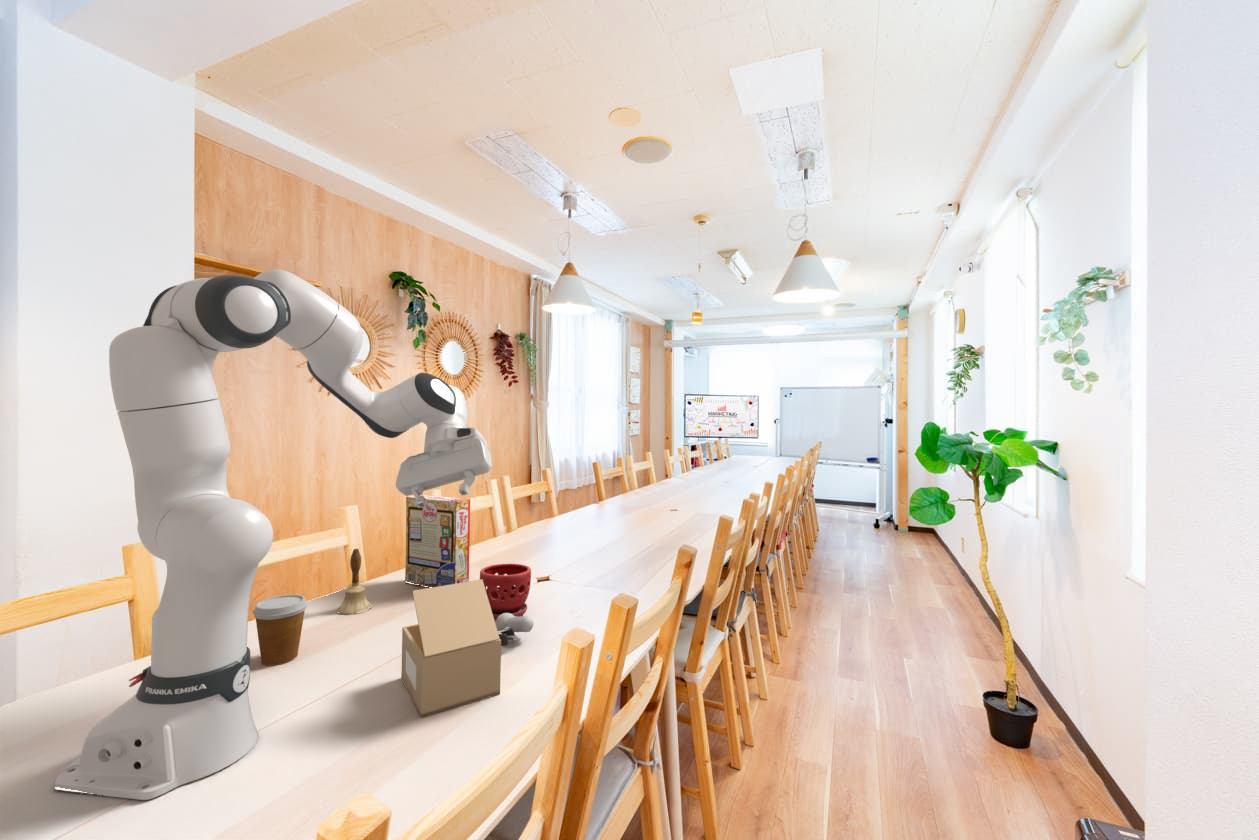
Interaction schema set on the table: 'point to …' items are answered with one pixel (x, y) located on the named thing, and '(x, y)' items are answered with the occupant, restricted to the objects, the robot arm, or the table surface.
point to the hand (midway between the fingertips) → (442, 499)
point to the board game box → (437, 541)
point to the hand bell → (354, 589)
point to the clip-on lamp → (512, 626)
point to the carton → (448, 674)
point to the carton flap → (454, 617)
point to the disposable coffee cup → (279, 627)
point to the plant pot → (507, 588)
